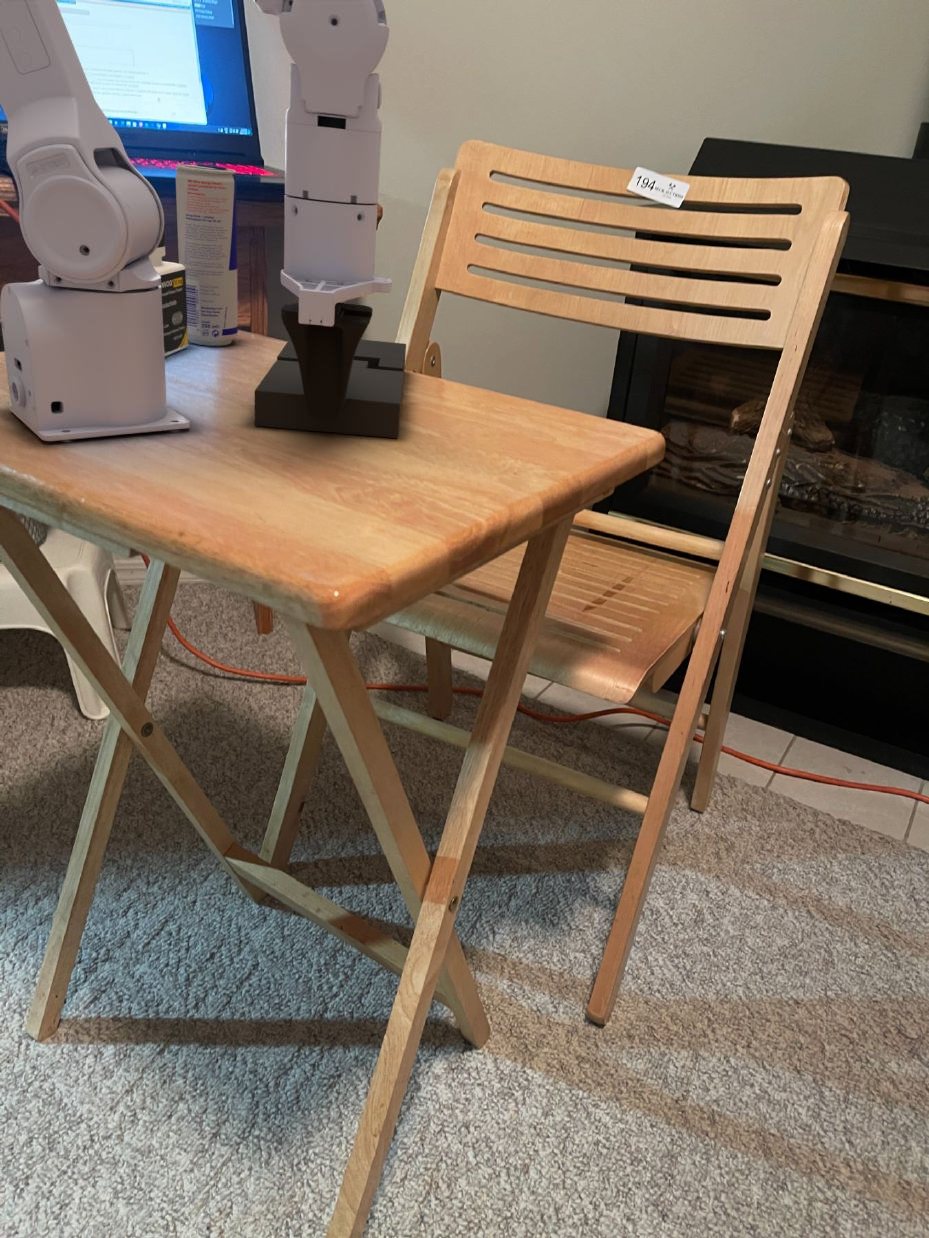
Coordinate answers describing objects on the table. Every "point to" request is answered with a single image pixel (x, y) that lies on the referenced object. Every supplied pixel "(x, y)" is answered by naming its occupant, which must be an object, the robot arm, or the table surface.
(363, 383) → the loose pad
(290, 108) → the robot arm
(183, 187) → the beverage can
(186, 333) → the black printed box
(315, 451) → the table surface
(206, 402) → the table surface
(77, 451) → the table surface
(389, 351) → the pad
